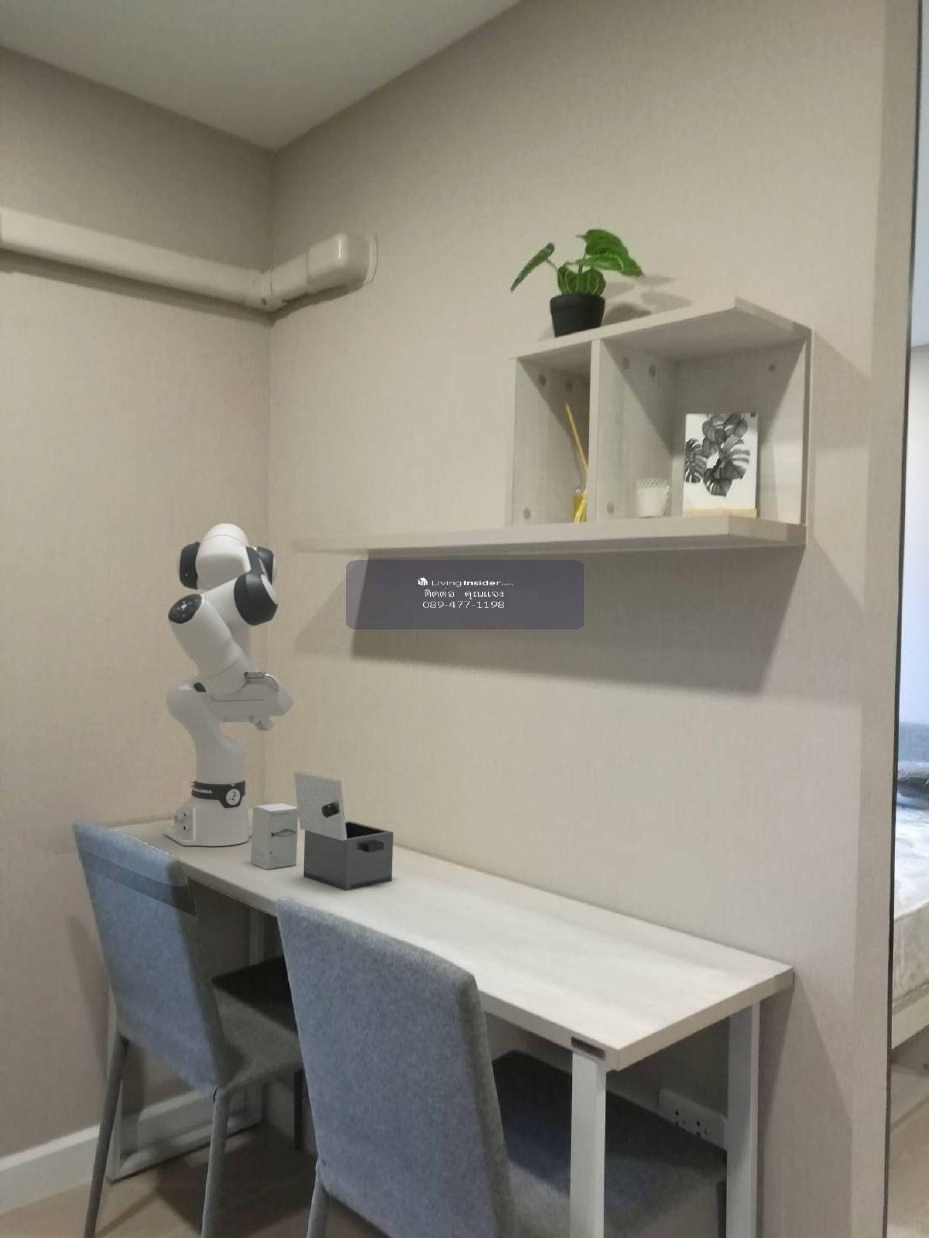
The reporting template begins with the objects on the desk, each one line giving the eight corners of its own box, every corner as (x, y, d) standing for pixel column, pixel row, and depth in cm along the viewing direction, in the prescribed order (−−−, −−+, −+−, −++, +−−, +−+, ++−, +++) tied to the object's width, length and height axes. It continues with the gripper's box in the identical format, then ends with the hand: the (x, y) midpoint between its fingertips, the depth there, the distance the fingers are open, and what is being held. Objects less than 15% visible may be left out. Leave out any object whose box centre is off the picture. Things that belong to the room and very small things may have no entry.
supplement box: (266, 870, 208) (268, 810, 208) (250, 863, 214) (252, 804, 214) (297, 865, 213) (299, 807, 213) (280, 858, 219) (282, 801, 219)
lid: (304, 827, 204) (294, 830, 203) (297, 771, 203) (287, 774, 201) (347, 839, 195) (336, 843, 193) (340, 780, 193) (330, 783, 191)
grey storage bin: (298, 874, 206) (299, 826, 206) (343, 865, 214) (344, 819, 214) (352, 892, 194) (353, 841, 194) (397, 882, 202) (399, 833, 202)
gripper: (278, 660, 179) (314, 717, 185) (204, 664, 191) (240, 717, 197) (258, 683, 175) (295, 740, 181) (183, 686, 187) (221, 739, 193)
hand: (266, 728), depth 189 cm, fingers closed
